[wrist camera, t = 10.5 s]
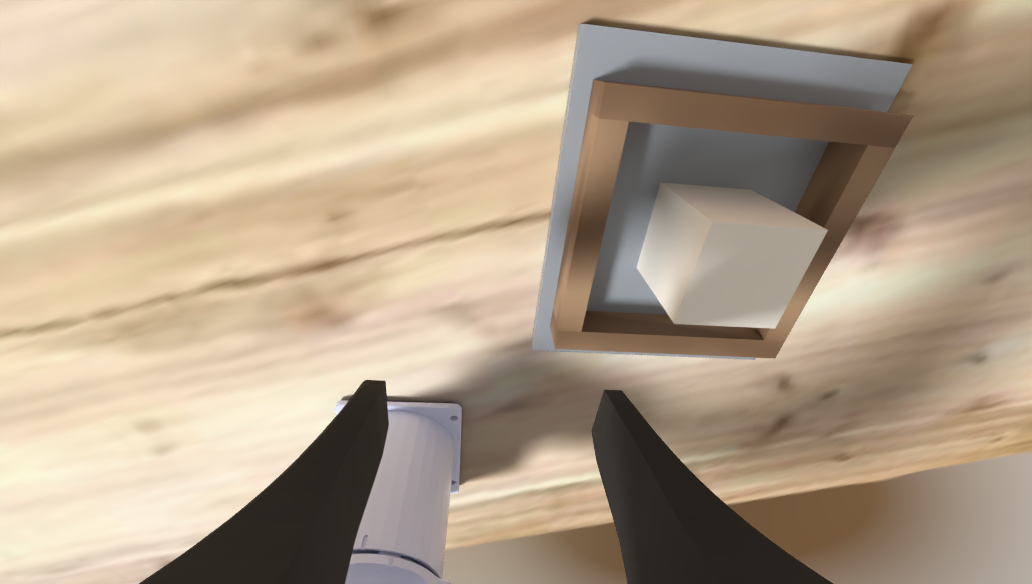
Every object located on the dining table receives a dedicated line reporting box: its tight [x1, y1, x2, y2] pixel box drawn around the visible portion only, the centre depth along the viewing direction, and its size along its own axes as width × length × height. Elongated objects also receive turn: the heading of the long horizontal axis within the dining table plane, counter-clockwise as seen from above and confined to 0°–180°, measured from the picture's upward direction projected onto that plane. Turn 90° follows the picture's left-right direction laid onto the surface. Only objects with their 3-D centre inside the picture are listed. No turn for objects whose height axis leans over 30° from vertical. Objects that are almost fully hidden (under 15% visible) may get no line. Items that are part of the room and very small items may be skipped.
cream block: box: [637, 182, 828, 329], centre depth 18 cm, size 4×4×5 cm
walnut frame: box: [550, 79, 913, 358], centre depth 19 cm, size 12×12×2 cm
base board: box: [531, 24, 913, 360], centre depth 20 cm, size 16×14×1 cm
